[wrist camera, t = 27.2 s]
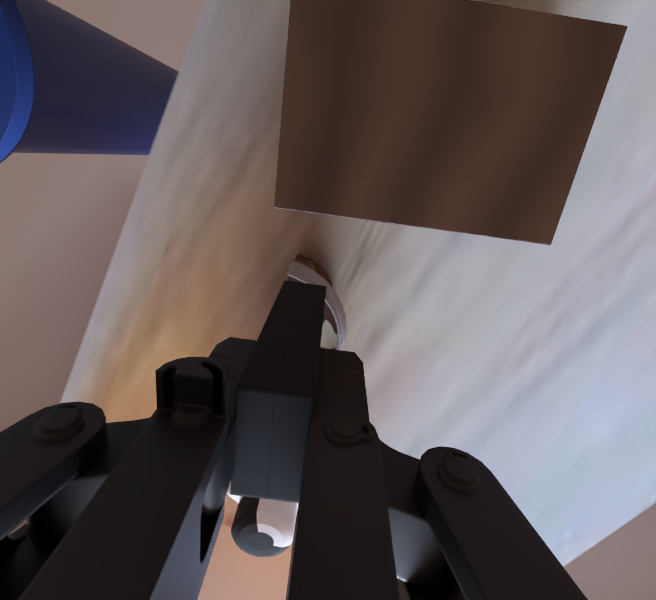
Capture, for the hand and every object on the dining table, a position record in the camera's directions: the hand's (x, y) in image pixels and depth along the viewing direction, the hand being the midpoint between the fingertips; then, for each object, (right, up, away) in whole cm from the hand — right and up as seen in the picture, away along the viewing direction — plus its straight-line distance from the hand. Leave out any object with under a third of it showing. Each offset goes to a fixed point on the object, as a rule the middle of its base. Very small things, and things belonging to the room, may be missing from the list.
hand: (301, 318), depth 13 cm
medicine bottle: (-5, -18, +33) cm, 38 cm away
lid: (+8, +13, +12) cm, 19 cm away
